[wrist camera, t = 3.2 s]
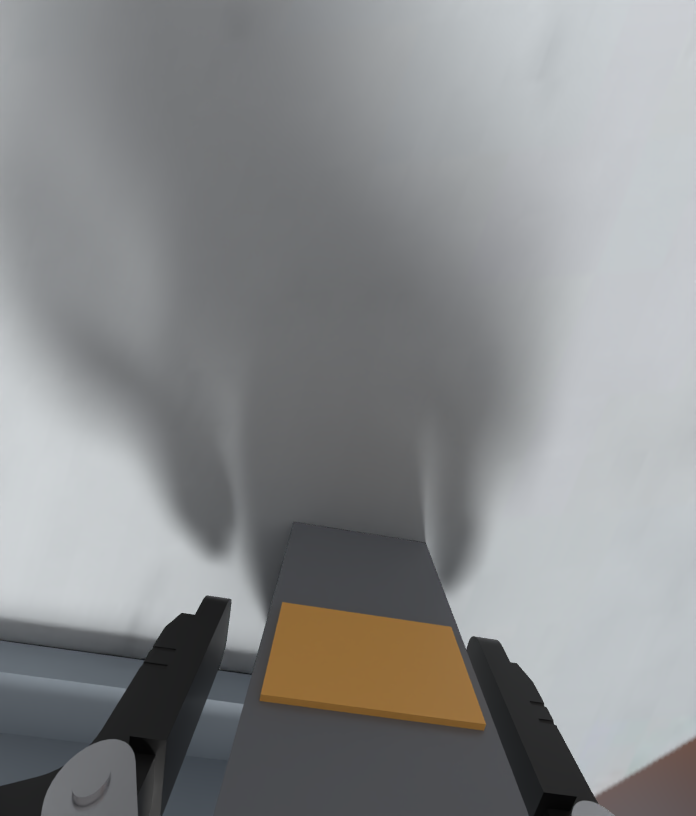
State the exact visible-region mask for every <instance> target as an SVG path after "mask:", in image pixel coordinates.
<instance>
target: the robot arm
mask: <svg viewBox="0 0 696 816" xmlns="http://www.w3.org/2000/svg"><path fill="white" fill-rule="evenodd" d="M230 610H231V599H227V598H221V597H214V596H205V598H204V599H203V601H202V603H201V605H200V606H199V608H198V610H197V612H196V614H195V615H192V614H186V613H181V614H180V615H179V616H178V617H176V618H175V619H174V620H173V621H172V622H171V623H169V624H168V625H167V626H166V627H165V628H164V630H163V631H162V633H161V634H160V636H159V638H158V639H157V641H156V642H155V644H154V646H153V649H152V650H151V651H150V652H149V654H148V655H147V657H146V659H145V660H144V662H143V665H142V666H141V667H140V668H139V670H138V672H137V673H136V675H135V676H134V678H133V680H132V681H131V683H130V684H129V686H128V688H127V689H126V691H125V693H124V694H123V696H122V697H121V699H120V701H119V702H118V704H117V705H116V707H115V709H114V710H113V712H112V714H111V715H110V717H109V718H108V720H107V722H106V723H105V725H104V726H103V728H102V730H101V731H100V733H99V734H98V735H97V737H96V738H95V739H94V740H93V742H92V743H91V744H90V745H89V746H88V747H86V748H85V749H83V750H82V751H80V752H79V753H77V754H76V755H75V756H74V757H73V758H71V759H70V760H69V761H68V762H67V763H66V764H65V765H64V766H62V767H60V768H59V769H57V770H54V771H52V772H50V773H47V774H44V775H41V776H38V777H34V778H30V779H26V780H22V781H18V782H14V783H10V784H6V785H2V786H0V816H162V815H163V813H164V810H165V808H166V805H167V802H168V800H169V797H170V794H171V792H172V789H173V787H174V784H175V781H176V779H177V776H178V774H179V771H180V768H181V766H182V763H183V760H184V758H185V755H186V753H187V750H188V747H189V745H190V742H191V740H192V737H193V734H194V732H195V729H196V726H197V724H198V721H199V719H200V716H201V713H202V711H203V708H204V706H205V703H206V700H207V698H208V695H209V692H210V690H211V687H212V685H213V682H214V679H215V677H216V674H217V672H218V669H219V666H220V664H221V661H222V657H223V654H224V650H225V646H226V641H227V634H228V626H229V618H230ZM466 651H467V653H468V656H469V659H470V661H471V664H472V667H473V669H474V672H475V674H476V677H477V680H478V682H479V685H480V688H481V690H482V693H483V696H484V698H485V701H486V704H487V706H488V709H489V711H490V714H491V717H492V719H493V722H494V725H495V727H496V730H497V733H498V735H499V738H500V740H501V743H502V746H503V748H504V751H505V754H506V756H507V759H508V762H509V764H510V767H511V770H512V772H513V775H514V777H515V780H516V783H517V785H518V788H519V791H520V793H521V796H522V799H523V801H524V804H525V806H526V809H527V812H528V814H529V816H615V815H613V814H612V813H611V812H610V811H608V810H607V809H605V808H604V807H602V806H601V805H599V804H598V802H597V801H596V799H595V797H594V795H593V793H592V792H591V790H590V788H589V786H588V784H587V782H586V780H585V779H584V777H583V775H582V773H581V771H580V769H579V767H578V765H577V764H576V762H575V760H574V758H573V756H572V754H571V752H570V750H569V749H568V747H567V745H566V743H565V741H564V739H563V737H562V736H561V734H560V732H559V730H558V728H557V726H556V725H554V723H553V719H552V717H551V715H550V713H549V711H548V709H547V708H546V707H545V706H544V702H543V700H542V698H541V696H540V694H539V693H538V691H537V689H536V687H535V685H534V683H533V682H532V680H531V679H530V678H529V677H528V676H527V675H526V673H525V672H524V671H523V670H522V669H521V668H520V667H519V665H518V664H517V663H511V662H510V661H509V659H508V657H507V655H506V653H505V651H504V649H503V647H502V645H501V643H500V642H499V641H498V640H494V639H487V638H481V637H474V636H473V637H471V638H470V640H469V643H468V646H467V649H466Z"/></svg>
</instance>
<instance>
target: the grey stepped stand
mask: <svg viewBox="0 0 696 816" xmlns="http://www.w3.org/2000/svg"><path fill="white" fill-rule="evenodd" d="M143 662H144V660H139V659H131V658H124V657H117V656H109V655H102V654H95V653H87V652H80V651H72V650H65V649H58V648H50V647H43V646H36V645H28V644H21V643H14V642H6V641H0V786H2V785H6V784H10V783H14V782H18V781H22V780H26V779H30V778H34V777H38V776H41V775H44V774H47V773H50V772H52V771H54V770H57V769H59V768H60V767H62V766H64V765H65V764H66V763H67V762H68V761H69V760H70V759H71V758H73V757H74V756H75V755H76V754H77V753H79V752H80V751H82V750H83V749H85V748H86V747H88V746H89V745H90V744H91V743H92V742H93V740H94V739H95V738H96V737H97V735H98V734H99V733H100V731H101V730H102V728H103V726H104V725H105V723H106V722H107V720H108V718H109V717H110V715H111V714H112V712H113V710H114V709H115V707H116V705H117V704H118V702H119V701H120V699H121V697H122V696H123V694H124V693H125V691H126V689H127V688H128V686H129V684H130V683H131V681H132V680H133V678H134V676H135V675H136V673H137V672H138V670H139V668H140V667H141V666H142V665H143ZM251 676H252V675H249V674H242V673H234V672H227V671H220V670H218V672H217V674H216V677H215V679H214V682H213V685H212V687H211V690H210V692H209V695H208V698H207V700H206V703H205V706H204V708H203V711H202V713H201V716H200V719H199V721H198V724H197V726H196V729H195V732H194V734H193V737H192V740H191V742H190V745H189V747H188V750H187V753H186V755H185V758H184V760H183V763H182V766H181V768H180V771H179V774H178V776H177V779H176V781H175V784H174V787H173V789H172V792H171V794H170V797H169V800H168V802H167V805H166V808H165V810H164V813H163V815H162V816H213V814H214V810H215V807H216V803H217V799H218V796H219V792H220V789H221V785H222V781H223V778H224V774H225V770H226V767H227V763H228V759H229V756H230V752H231V748H232V745H233V741H234V738H235V734H236V730H237V727H238V723H239V719H240V716H241V712H242V708H243V705H244V701H245V698H246V694H247V690H248V687H249V683H250V679H251Z"/></svg>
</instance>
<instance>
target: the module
mask: <svg viewBox="0 0 696 816" xmlns="http://www.w3.org/2000/svg"><path fill="white" fill-rule="evenodd" d="M213 816H529V814H528V812H527V809H526V806H525V804H524V801H523V799H522V796H521V793H520V791H519V788H518V785H517V783H516V780H515V777H514V775H513V772H512V770H511V767H510V764H509V762H508V759H507V756H506V754H505V751H504V748H503V746H502V743H501V740H500V738H499V735H498V733H497V730H496V727H495V725H494V722H493V719H492V717H491V714H490V711H489V709H488V706H487V704H486V701H485V698H484V696H483V693H482V690H481V688H480V685H479V682H478V680H477V677H476V674H475V672H474V669H473V667H472V664H471V661H470V659H469V656H468V653H467V651H466V648H465V645H464V643H463V640H462V638H461V635H460V632H459V630H458V627H457V624H456V622H455V619H454V616H453V614H452V611H451V608H450V606H449V603H448V601H447V598H446V595H445V593H444V590H443V587H442V585H441V582H440V579H439V577H438V574H437V572H436V569H435V566H434V564H433V561H432V558H431V556H430V553H429V550H428V548H427V545H426V543H424V542H418V541H411V540H405V539H399V538H392V537H386V536H380V535H373V534H367V533H361V532H354V531H348V530H342V529H335V528H329V527H323V526H316V525H310V524H304V523H297V522H294V523H293V526H292V530H291V534H290V537H289V541H288V545H287V548H286V552H285V556H284V559H283V563H282V567H281V570H280V574H279V577H278V581H277V585H276V588H275V592H274V596H273V599H272V603H271V607H270V610H269V614H268V617H267V621H266V625H265V628H264V632H263V636H262V639H261V643H260V647H259V650H258V654H257V658H256V661H255V665H254V668H253V672H252V676H251V679H250V683H249V687H248V690H247V694H246V698H245V701H244V705H243V708H242V712H241V716H240V719H239V723H238V727H237V730H236V734H235V738H234V741H233V745H232V748H231V752H230V756H229V759H228V763H227V767H226V770H225V774H224V778H223V781H222V785H221V789H220V792H219V796H218V799H217V803H216V807H215V810H214V814H213Z"/></svg>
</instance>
